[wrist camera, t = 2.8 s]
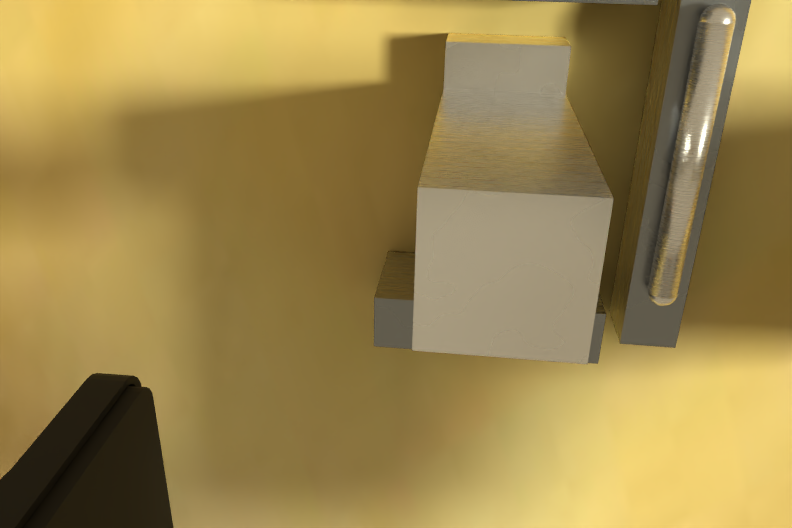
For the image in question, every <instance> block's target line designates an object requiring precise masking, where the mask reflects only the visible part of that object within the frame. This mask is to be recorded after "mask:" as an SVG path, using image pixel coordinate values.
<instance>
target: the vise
mask: <svg viewBox="0 0 792 528" xmlns="http://www.w3.org/2000/svg"><path fill="white" fill-rule="evenodd" d="M514 1H546V2H578V3H610V4H642V5H658V0H514ZM750 4H751V0H662V2H661V8H660V14H659V20H658V26H657V31H656V37H655V43H654V49H653V55H652V61H651V67H650V73H649V79H648V85H647V91H646V97H645V103H644V109H643V115H642V121H641V127H640V133H639V139H638V145H637V150H636V156H635V162H634V168H633V174H632V180H631V186H630V192H629V198H628V204H627V210H626V216H625V222H624V228H623V234H622V240H621V246H620V252H619V258H618V264H617V269H616V275H615V281H614V287H613V293H612V299H611V305H610V314H611V317H612V320H613V323H614V327H615V330H616V333H617V336H618V339H619V342H620V344H633V345H647V346H660V347H673V348H675V347H676V342H677V338H678V333H679V329H680V324H681V319H682V315H683V310H684V306H685V301H686V297H687V292H688V287H689V283H690V278H691V274H692V269H693V264H694V260H695V255H696V251H697V246H698V242H699V237H700V232H701V228H702V223H703V219H704V214H705V210H706V205H707V200H708V196H709V191H710V187H711V182H712V178H713V173H714V168H715V164H716V159H717V155H718V150H719V146H720V141H721V136H722V132H723V127H724V123H725V118H726V114H727V109H728V104H729V100H730V95H731V91H732V86H733V81H734V77H735V72H736V68H737V63H738V59H739V54H740V49H741V45H742V40H743V36H744V31H745V27H746V22H747V17H748V13H749V8H750ZM414 280H415V253H408V252H392V251H388V254H387V257H386V261H385V264H384V267H383V271H382V274H381V277H380V281H379V284H378V287H377V291H376V294H375V297H374V346H378V347H391V348H404V349H412V339H413V310H414ZM605 318H606V312H605V309H604V306H603V302H602V299H601V296H600V292H599V294H598V301H597V307H596V313H595V319H594V326H593V332H592V338H591V345H590V351H589V357H588V363H597V364H598V360H599V354H600V348H601V342H602V336H603V330H604V324H605Z"/></svg>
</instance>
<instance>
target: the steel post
mask: <svg viewBox="0 0 792 528" xmlns="http://www.w3.org/2000/svg"><path fill="white" fill-rule="evenodd" d="M570 53H571V45H570V44H569V42H568V41H567V39H566V38H565V37H545V36H517V35H490V34H462V33H449V34H448V37H447V40H446V50H445V71H444V89H443V93H442V96H441V100H440V104H439V108H438V112H437V116H436V119H435V123H434V127H433V131H432V135H431V138H430V142H429V146H428V150H427V154H426V157H425V161H424V165H423V169H422V173H421V176H420V180H419V184H418V192H417V221H416V251H415V280H414V310H413V339H412V351H425V352H438V353H451V354H464V355H476V356H489V357H502V358H515V359H528V360H541V361H553V362H566V363H579V364H588V357H589V351H590V345H591V338H592V332H593V326H594V319H595V313H596V307H597V301H598V294H599V288H600V282H601V275H602V269H603V263H604V256H605V250H606V244H607V238H608V231H609V225H610V219H611V212H612V206H613V200H614V198H613V196H612V193H611V191H610V189H609V187H608V185H607V183H606V180H605V178H604V176H603V174H602V172H601V169H600V167H599V165H598V163H597V161H596V159H595V156H594V154H593V152H592V150H591V148H590V146H589V143H588V141H587V139H586V137H585V135H584V132H583V130H582V128H581V126H580V124H579V122H578V119H577V117H576V115H575V113H574V111H573V108H572V106H571V104H570V102H569V100H568V98H567V95H566V86H567V78H568V69H569V61H570Z"/></svg>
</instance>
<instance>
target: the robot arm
mask: <svg viewBox="0 0 792 528" xmlns="http://www.w3.org/2000/svg"><path fill="white" fill-rule="evenodd" d="M0 528H173V523H172V516H171V510H170V503H169V497H168V490H167V484H166V478H165V471H164V465H163V458H162V452H161V445H160V439H159V432H158V426H157V419H156V413H155V406H154V400H153V395H152V392H151V390H150V389H149V388H147V387H141V383H140V381H139V379H138V378H137V377H135V376H128V375H115V374H101V373H96V374H92V375H91V376H90V377H89V378H87V380H86V381H85V382H84V383H83V384H82V385H81V387H80V388H79V389H78V390H77V391H76V393H75V394H74V395H73V396H72V397H71V399H70V400H69V401H68V402H67V403H66V404H65V406H64V407H63V408H62V409H61V410H60V412H59V413H58V414H57V415H56V416H55V418H54V419H53V420H52V421H51V422H50V424H49V425H48V426H47V427H46V428H45V429H44V431H43V432H42V433H41V434H40V435H39V437H38V438H37V439H36V440H35V441H34V443H33V444H32V445H31V446H30V447H29V448H28V450H27V451H26V452H25V453H24V454H23V456H22V457H21V458H20V459H19V460H18V462H17V463H16V464H15V465H14V466H13V468H12V469H11V470H10V471H9V472H8V473H7V474H5V475H4V476H3V477H2V478H1V480H0Z"/></svg>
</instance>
